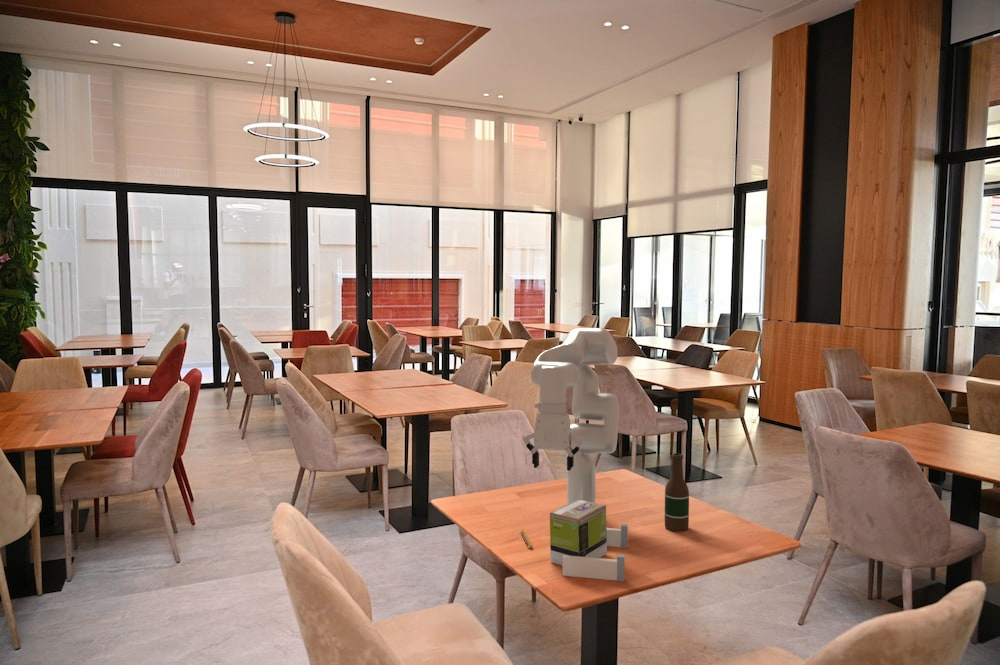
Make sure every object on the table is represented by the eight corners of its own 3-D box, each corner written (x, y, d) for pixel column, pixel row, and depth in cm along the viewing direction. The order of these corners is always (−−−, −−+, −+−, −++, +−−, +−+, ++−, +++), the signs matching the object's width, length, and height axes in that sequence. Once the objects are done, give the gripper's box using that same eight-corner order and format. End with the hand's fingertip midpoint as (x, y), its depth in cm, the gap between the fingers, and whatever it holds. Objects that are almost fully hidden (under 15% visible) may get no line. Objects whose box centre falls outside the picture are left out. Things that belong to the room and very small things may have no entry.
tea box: (578, 546, 199) (578, 497, 198) (607, 554, 193) (607, 504, 192) (549, 562, 188) (549, 510, 187) (579, 571, 181) (579, 518, 180)
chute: (573, 541, 203) (573, 520, 203) (627, 545, 200) (627, 524, 199) (562, 575, 179) (562, 552, 178) (624, 581, 175) (624, 557, 175)
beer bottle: (668, 522, 220) (668, 450, 218) (691, 526, 216) (692, 453, 214) (660, 529, 213) (661, 455, 212) (685, 534, 209) (686, 458, 208)
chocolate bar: (526, 550, 198) (526, 542, 198) (518, 535, 210) (518, 528, 209) (534, 549, 198) (534, 542, 198) (526, 535, 210) (526, 528, 210)
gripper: (519, 409, 189) (519, 469, 190) (580, 412, 183) (580, 473, 184) (527, 405, 196) (527, 462, 197) (585, 408, 190) (585, 467, 191)
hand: (552, 468), depth 190 cm, fingers open, 9 cm apart
